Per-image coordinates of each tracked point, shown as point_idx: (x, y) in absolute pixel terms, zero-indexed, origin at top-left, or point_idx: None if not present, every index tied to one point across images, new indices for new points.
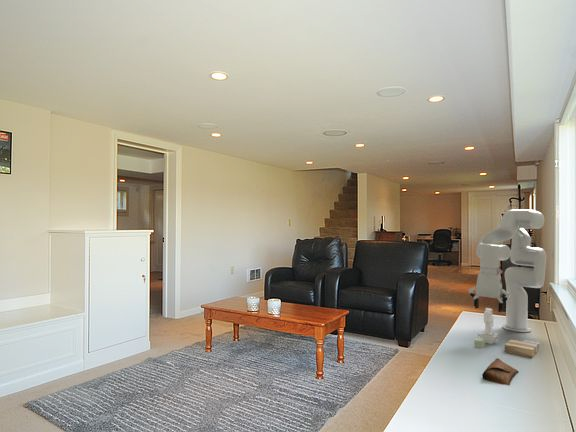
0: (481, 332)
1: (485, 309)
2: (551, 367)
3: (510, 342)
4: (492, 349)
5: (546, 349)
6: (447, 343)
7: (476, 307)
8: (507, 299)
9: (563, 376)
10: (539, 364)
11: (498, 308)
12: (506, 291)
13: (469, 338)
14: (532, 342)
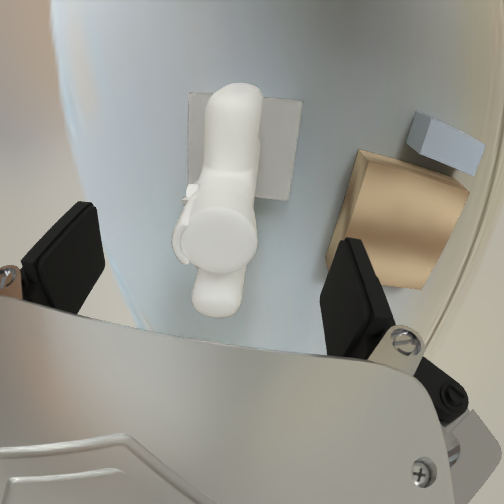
0: (197, 138)
1: (181, 255)
2: (430, 322)
3: (358, 230)
4: (277, 250)
5: (489, 124)
6: (116, 267)
7: (99, 271)
8: (454, 390)
9: (427, 357)
10: (408, 318)
11: (324, 323)
12: (467, 501)
13: (147, 126)
14: (458, 159)
